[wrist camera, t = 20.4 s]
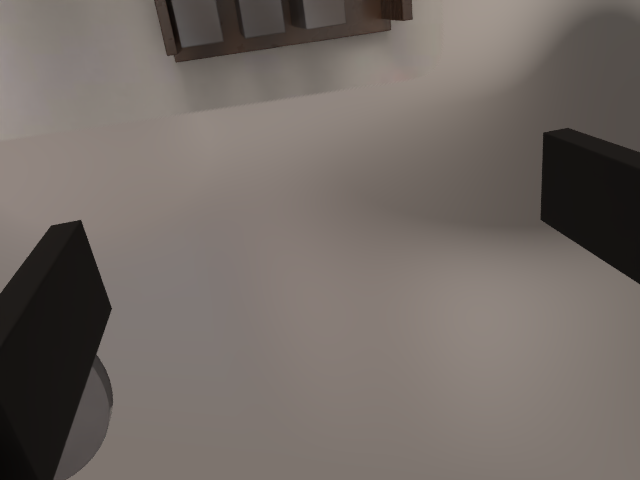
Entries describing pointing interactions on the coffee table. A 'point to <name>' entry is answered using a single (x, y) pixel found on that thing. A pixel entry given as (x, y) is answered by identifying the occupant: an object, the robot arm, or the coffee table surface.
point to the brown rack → (268, 23)
